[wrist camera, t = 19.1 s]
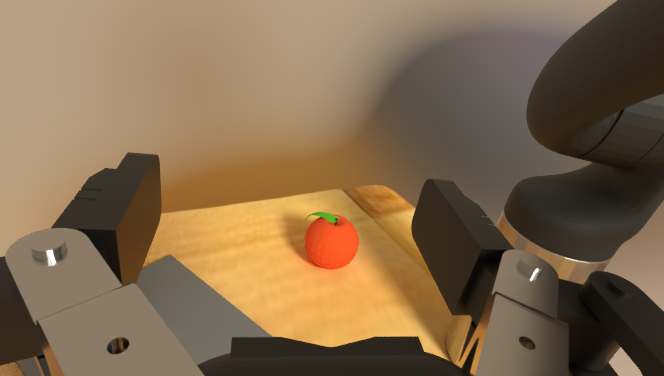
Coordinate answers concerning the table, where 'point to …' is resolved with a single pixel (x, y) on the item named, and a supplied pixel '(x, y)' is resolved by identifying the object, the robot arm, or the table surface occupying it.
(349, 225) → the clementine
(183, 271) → the mat
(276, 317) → the table surface
